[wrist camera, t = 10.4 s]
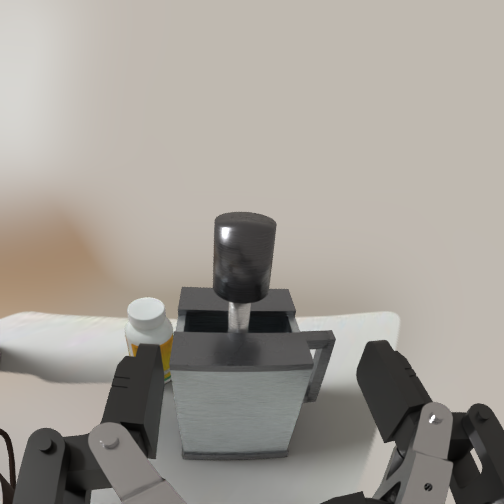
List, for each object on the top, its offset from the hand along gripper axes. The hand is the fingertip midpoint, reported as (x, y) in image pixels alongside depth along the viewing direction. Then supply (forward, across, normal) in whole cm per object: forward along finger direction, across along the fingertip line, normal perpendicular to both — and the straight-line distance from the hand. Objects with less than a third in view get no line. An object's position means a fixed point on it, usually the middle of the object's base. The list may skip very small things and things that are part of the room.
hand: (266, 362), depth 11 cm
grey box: (+11, -1, +20) cm, 23 cm away
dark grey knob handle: (+11, 0, +16) cm, 20 cm away
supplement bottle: (+18, +9, +20) cm, 29 cm away
